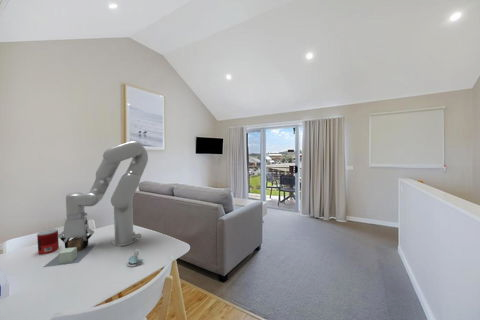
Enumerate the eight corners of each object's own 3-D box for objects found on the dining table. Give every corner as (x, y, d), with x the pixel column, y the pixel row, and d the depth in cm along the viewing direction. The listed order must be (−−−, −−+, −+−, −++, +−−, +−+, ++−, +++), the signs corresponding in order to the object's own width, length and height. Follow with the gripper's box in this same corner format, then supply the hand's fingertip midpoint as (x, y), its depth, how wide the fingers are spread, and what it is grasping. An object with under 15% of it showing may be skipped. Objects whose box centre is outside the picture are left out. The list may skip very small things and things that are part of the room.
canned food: (62, 248, 110) (61, 228, 110) (47, 255, 102) (46, 234, 102) (50, 247, 111) (49, 228, 111) (34, 255, 103) (33, 234, 103)
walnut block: (85, 246, 112) (85, 236, 111) (80, 250, 106) (79, 240, 106) (74, 247, 110) (73, 237, 110) (68, 252, 105) (67, 242, 105)
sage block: (77, 256, 100) (76, 247, 100) (71, 262, 95) (71, 251, 95) (65, 258, 99) (65, 248, 99) (59, 263, 94) (58, 253, 94)
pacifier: (131, 269, 90) (144, 262, 95) (131, 256, 89) (143, 250, 94) (123, 264, 94) (136, 258, 99) (122, 251, 94) (135, 246, 98)
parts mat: (97, 244, 114) (97, 244, 114) (78, 263, 95) (78, 262, 95) (68, 247, 111) (68, 247, 111) (42, 268, 91) (42, 267, 91)
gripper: (97, 212, 113) (98, 243, 114) (61, 215, 109) (62, 246, 110) (90, 216, 106) (92, 249, 107) (51, 219, 102) (53, 253, 102)
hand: (76, 247), depth 108 cm, fingers open, 7 cm apart
